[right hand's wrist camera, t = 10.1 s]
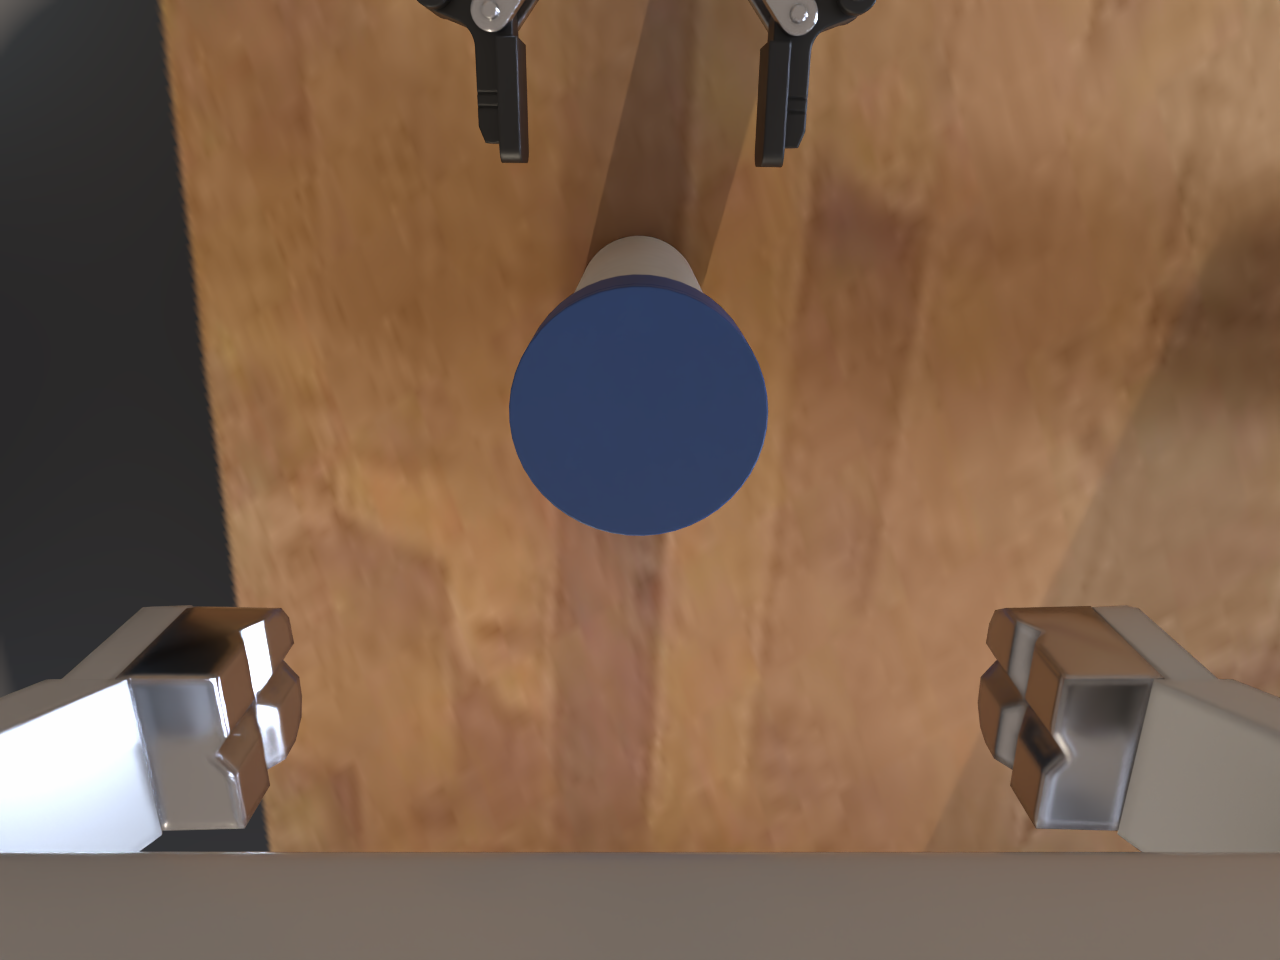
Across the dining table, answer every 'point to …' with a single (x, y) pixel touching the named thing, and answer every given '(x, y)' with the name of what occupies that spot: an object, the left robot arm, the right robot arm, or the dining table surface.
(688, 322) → the lid
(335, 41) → the dining table surface
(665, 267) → the white bottle
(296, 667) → the dining table surface
